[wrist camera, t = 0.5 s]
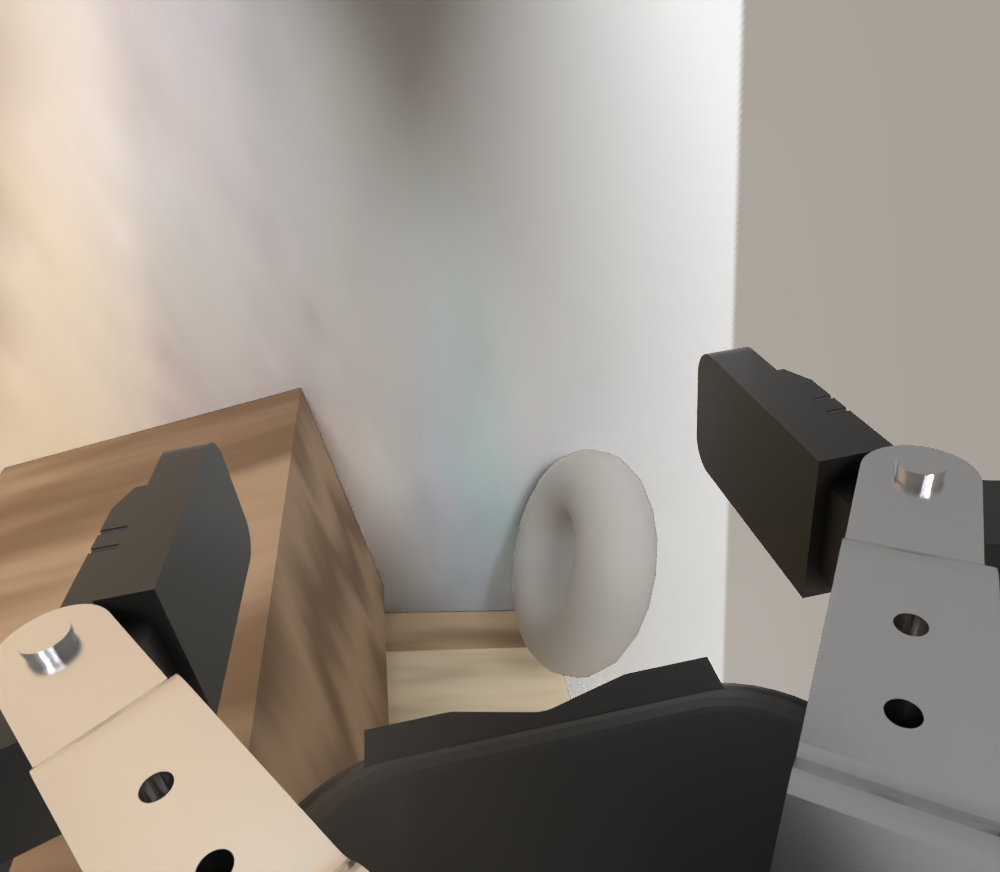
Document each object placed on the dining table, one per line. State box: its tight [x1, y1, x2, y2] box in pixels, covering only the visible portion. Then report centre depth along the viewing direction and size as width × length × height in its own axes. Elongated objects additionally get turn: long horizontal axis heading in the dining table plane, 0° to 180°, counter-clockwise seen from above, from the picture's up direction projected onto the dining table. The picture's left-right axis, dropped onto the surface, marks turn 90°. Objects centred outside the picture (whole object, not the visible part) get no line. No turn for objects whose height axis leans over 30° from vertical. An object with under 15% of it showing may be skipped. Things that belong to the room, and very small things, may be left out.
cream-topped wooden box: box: [0, 388, 389, 872], centre depth 23 cm, size 12×13×28 cm
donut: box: [512, 450, 657, 677], centre depth 33 cm, size 10×4×10 cm, turn 161°
